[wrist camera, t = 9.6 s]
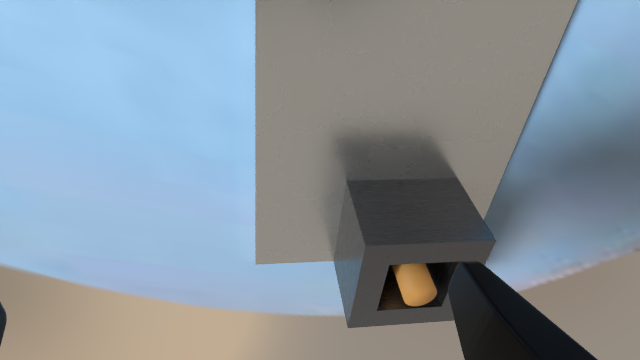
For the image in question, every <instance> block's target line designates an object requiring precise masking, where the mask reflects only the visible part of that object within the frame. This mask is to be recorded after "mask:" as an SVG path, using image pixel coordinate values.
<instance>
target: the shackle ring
mask: <svg viewBox="0 0 640 360" xmlns="http://www.w3.org/2000/svg"><path fill="white" fill-rule="evenodd" d="M495 241H496V240H495V238H494V237H493V235H492V233H491V232H490V230H489V228H488V227H487V225H486V223H485V222H484V220H483V219H482V217H481V215H480V214H479V212H478V210H477V209H476V207H475V205H474V204H473V202H472V200H471V199H470V197H469V196H468V194H467V192H466V191H465V189H464V187H463V186H462V184H461V182H460V181H459V179H458V178H447V179H392V180H346V185H345V191H344V197H343V204H342V210H341V217H340V223H339V230H338V236H337V242H336V249H335V255H334V265H335V270H336V274H337V279H338V284H339V288H340V293H341V298H342V303H343V307H344V312H345V317H346V321H347V326H348V328H355V327H368V326H383V325H397V324H411V323H424V322H438V321H452V320H454V316H453V312H452V308H451V304H450V300H449V295H448V287H449V283H450V281H451V279H452V276H453V274H454V271H455V269H456V266H457V264H458V263H460V262H461V261H479V262H481V263H482V264H483V265H485V263H486V260H487V258H488V256H489V254H490V252H491V250H492V248H493V245H494V243H495ZM419 263H425V264H426V266H427V268H428V271H429V273H430V276H431V278H432V280H433V283H434V285H435V287H436V290H437V294H436V296H435V298H434V299H433V300H432V301H430V302H429V303H427V304H424V305H421V306H410V305H407V304H406V303H405V302H404V300H403V297H402V294H401V291H400V288H399V285H398V282H397V279H396V276H395V273H394V270H393V267H392V265H399V264H419Z"/></svg>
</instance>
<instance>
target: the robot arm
mask: <svg viewBox="0 0 640 360" xmlns="http://www.w3.org/2000/svg"><path fill="white" fill-rule="evenodd" d="M448 295H449V300H450V304H451V308H452V312H453V316H454V320H455V324H456V327H457V331H458V335H459V339H460V343H461V347H462V351H463V355H464V358H465V360H597V359H596V358H595V357H594V356H593V355H591V354H590V353H589V352H588V351H587V350H585V349H584V348H583V347H582V346H580V345H579V344H578V343H577V342H576V341H575V340H573V339H572V338H571V337H570V336H569V335H567V334H566V333H565V332H564V331H563V330H561V329H560V328H559V327H558V326H557V325H555V324H554V323H553V322H552V321H551V320H549V319H548V318H547V317H546V316H545V315H543V314H542V313H541V312H540V311H539V310H537V309H536V308H535V307H534V306H532V305H531V304H530V303H529V302H528V301H527V300H525V299H524V298H523V297H522V296H521V295H519V294H518V293H517V292H516V291H515V290H513V289H512V288H511V287H510V286H509V285H507V284H506V283H505V282H504V281H503V280H501V279H500V278H499V277H498V276H497V275H495V274H494V273H493V272H492V271H491V270H489V269H488V268H487V267H486V266H485V265H483V264H482V263H481V262H479V261H461V262H460V263H458V264H457V266H456V269H455V271H454V274H453V276H452V279H451V281H450V283H449V287H448ZM5 326H6V312H5V310H4V308H3V306H2V304H1V302H0V345H1V341H2V338H3V334H4V330H5Z"/></svg>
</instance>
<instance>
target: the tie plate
mask: <svg viewBox="0 0 640 360" xmlns="http://www.w3.org/2000/svg"><path fill="white" fill-rule="evenodd" d="M577 1H578V0H255V243H256V264H274V263H296V262H317V261H334V255H335V249H336V242H337V236H338V230H339V223H340V217H341V210H342V204H343V197H344V191H345V185H346V180H392V179H447V178H458V179H459V181H460V182H461V184H462V186H463V187H464V189H465V191H466V192H467V194H468V196H469V197H470V199H471V200H472V202H473V204H474V205H475V207H476V209H477V210H478V212H479V214H480V215H481V217H482V219H483V220H484V218H485V216H486V213H487V211H488V209H489V206H490V204H491V202H492V199H493V197H494V195H495V192H496V190H497V188H498V185H499V183H500V181H501V178H502V176H503V174H504V171H505V169H506V167H507V164H508V162H509V160H510V157H511V155H512V153H513V150H514V148H515V146H516V143H517V141H518V139H519V136H520V134H521V132H522V129H523V127H524V125H525V122H526V120H527V118H528V115H529V113H530V111H531V108H532V106H533V104H534V101H535V99H536V97H537V94H538V92H539V90H540V87H541V85H542V83H543V80H544V78H545V76H546V73H547V71H548V68H549V66H550V64H551V61H552V59H553V57H554V54H555V52H556V50H557V47H558V45H559V43H560V40H561V38H562V36H563V33H564V31H565V29H566V26H567V24H568V22H569V19H570V17H571V15H572V12H573V10H574V8H575V5H576V3H577Z"/></svg>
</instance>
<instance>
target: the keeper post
mask: <svg viewBox="0 0 640 360" xmlns="http://www.w3.org/2000/svg"><path fill="white" fill-rule="evenodd" d="M392 267H393V270H394V273H395V276H396V279H397V282H398V285H399V288H400V291H401V294H402V297H403V300H404V302H405V303H406V304H407V305H410V306H421V305H424V304H427V303H429V302H430V301H432V300H433V299H434V298H435V296H436V294H437V290H436V287H435V285H434V283H433V280H432V278H431V276H430V273H429V271H428V268H427V266H426V264H425V263H419V264H399V265H392Z"/></svg>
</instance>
